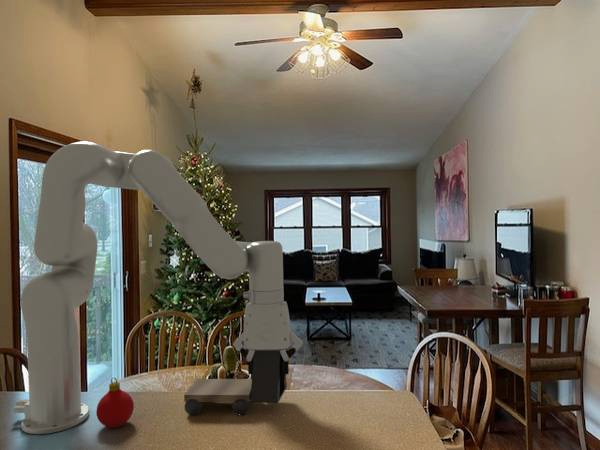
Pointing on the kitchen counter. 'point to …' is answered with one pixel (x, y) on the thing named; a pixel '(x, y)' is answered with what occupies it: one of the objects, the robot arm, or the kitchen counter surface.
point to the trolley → (219, 394)
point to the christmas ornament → (115, 406)
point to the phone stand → (267, 377)
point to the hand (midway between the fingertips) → (268, 376)
